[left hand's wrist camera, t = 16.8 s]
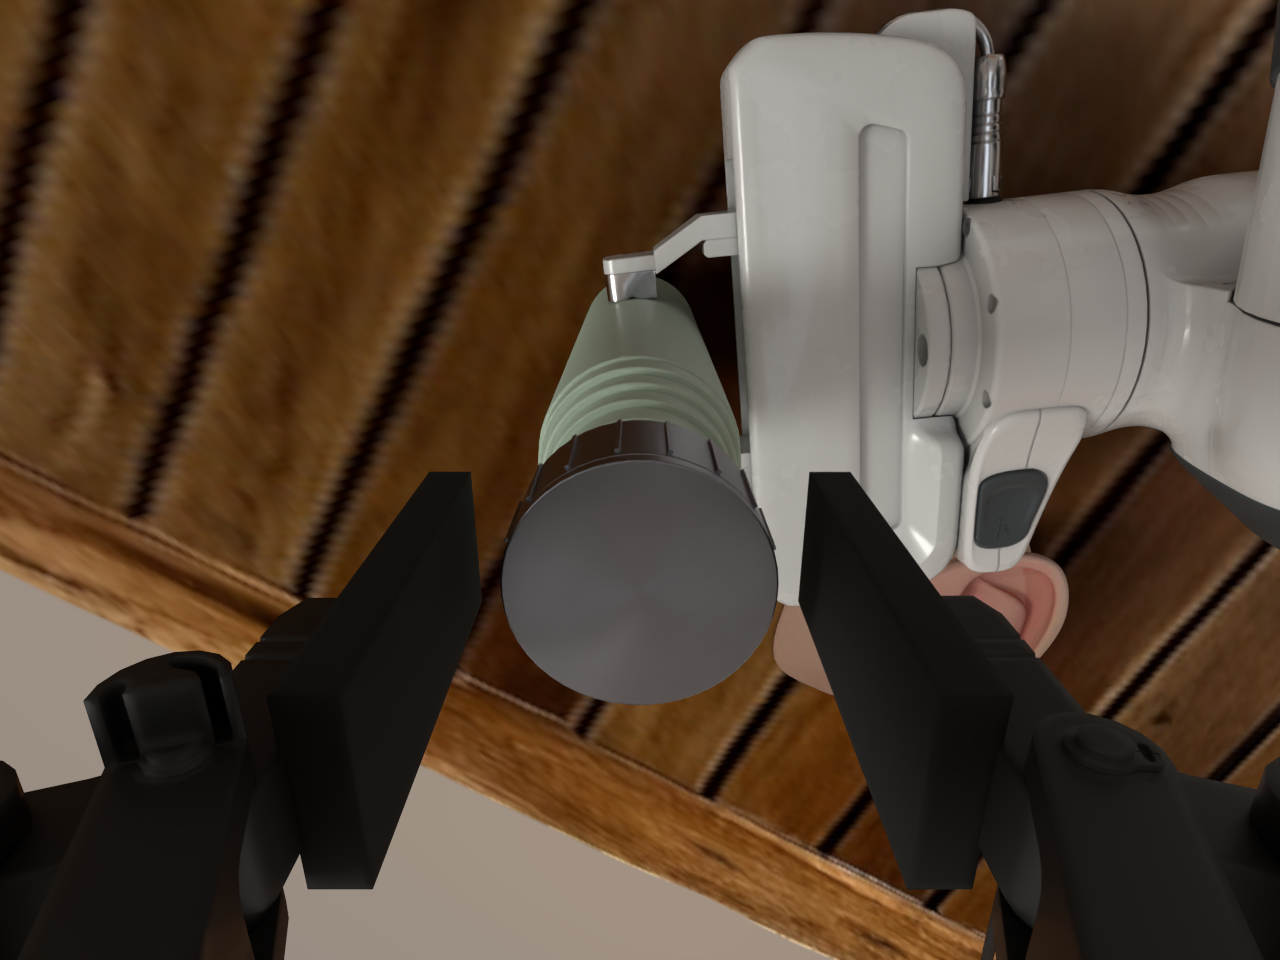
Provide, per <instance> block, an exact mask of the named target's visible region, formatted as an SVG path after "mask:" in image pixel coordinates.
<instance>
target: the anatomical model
mask: <svg viewBox="0 0 1280 960" xmlns="http://www.w3.org/2000/svg"><path fill="white" fill-rule="evenodd" d="M930 581H931V583H932V584H933V585H934V587H935V588H936V590H937V591H938V592H939V594H940V595H941V596H975V597H976V598H978V599H979V600H981V601H983V602H984V603H986V604H987V605H989V606H991V607H992V608H994V609H995V610H997V611H999V612H1000V613H1002V614H1003V615H1004V616H1005V618H1006V619H1007V620H1008V621H1009V622H1010V624H1011V625H1012V626H1013V627H1014V628H1015V629H1016V631H1017V632H1018V633H1019V634H1020V638H1021V639H1024V640H1025V641H1026V643H1027V644H1028V645H1029V646H1030V647H1031V648H1032V650H1033V651H1034V652H1035V656H1036V658H1040V657H1041V656H1042V655H1043V653H1044V652H1045V651H1046V650H1047V649H1048V648H1049V646H1050V645H1051V643H1052V642H1053V641H1054V639H1055V638H1056V636H1057V635H1058V633H1059V631H1060V629H1061V627H1062V625H1063V623H1064V620H1065V617H1066V614H1067V609H1068V600H1069V590H1068V583H1067V579H1066V577H1065V574H1064V572H1063V571H1062V569H1061V568H1060V567H1059V565H1058V564H1057V563H1055V562H1054V561H1053V560H1051V559H1049V558H1047V557H1045V556H1043V555H1040V554H1036V553H1032V552H1031V550H1030V545H1028V547H1027V549H1026V551H1025V553H1024V555H1023V557H1022V558H1021V560H1020V561H1019V562H1018V563H1017V564H1016V565H1015V566H1014V567H1012V568H1010V569H1007V570H1004V571H999V572H988V573H986V572H975V571H972V570H970V569H969V568H968V567H966V566H965V565H964V564H963V563H962V562H960V561H959V560H958V559H957V558H956V557H955V556H954V555H953V556H952V558H951V560H950V562H949V563H948V565H947V566H946V567H945V568H944V569H943V570H942V571H941V572H940V573H939V574H938V575H937V576H936V577H934V578H933V579H931V580H930ZM773 651H774V658H775V660H776V663H777V664H778V666H779V667H780V668H781V669H782V670H783V671H784V672H785V673H787V674H788V675H789V676H791V677H793V678H795V679H796V680H798V681H800V682H802V683H805V684H807V685H809V686H811V687H814V688H816V689H818V690H821V691H823V692H826V693H828V694H830V695H833V692H832V689H831V687H830V684H829V681H828V679H827V676H826V673H825V671H824V668H823V666H822V663H821V660H820V658H819V655H818V652H817V650H816V647H815V644H814V642H813V639H812V637H811V634H810V631H809V629H808V626H807V623H806V621H805V618H804V615H803V613H802V610H801V607H800V606H789V605H784V608H783V610H782V613H781V616H780V619H779V622H778V625H777V629H776V633H775V637H774V645H773Z"/></svg>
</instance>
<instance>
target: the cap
mask: <svg viewBox="0 0 1280 960" xmlns="http://www.w3.org/2000/svg"><path fill="white" fill-rule="evenodd" d="M505 542H506V543H507V546H506V549H505V553H504V557H503V561H502V567H501V577H500V583H501V597H502V602H503V607H504V612H505V614H506V617H507V620H508V623H509V626H510V628H511V630H512V631H513V633H514V635H515V637H516V639H517V641H518V642H519V644H520V645H521V647H522V648H523V649H524V651H525V652H526V654H527V655H528V656H529V657H530V658H531V659H532V660H533V661H534V662H535V663H536V664H537V666H539V667H540V668H541V669H542V670H543V671H545V672H546V673H547V674H548V675H549V676H551V677H552V678H554V679H555V680H557V681H558V682H560V683H561V684H563V685H564V686H566V687H569V688H571V689H573V690H575V691H577V692H579V693H581V694H584V695H587V696H590V697H592V698H595V699H599V700H603V701H608V702H612V703H620V704H628V705H649V704H660V703H666V702H671V701H676V700H680V699H683V698H686V697H690V696H693V695H696V694H698V693H700V692H702V691H704V690H707V689H709V688H711V687H713V686H714V685H716V684H718V683H719V682H721V681H723V680H724V679H726V678H727V677H728V676H730V675H731V674H732V673H733V672H735V671H736V670H737V669H738V668H739V667H740V666H741V665H742V664H743V663H744V662H745V661H746V660H747V659H748V658H749V657H750V656H751V655H752V653H753V652H754V651H755V650H756V648H757V647H758V646H759V644H760V642H761V641H762V639H763V637H764V635H765V634H766V632H767V630H768V628H769V625H770V623H771V620H772V618H773V615H774V611H775V607H776V603H777V597H778V587H779V580H778V566H777V561H776V556H775V552H774V550H776V546H775V543H774V540H773V538H772V535H771V532H770V530H769V527H768V524H767V522H766V519H765V516H764V514H763V511H762V508H758V505H757V502H756V499H755V496H754V494H753V491H752V488H751V485H750V483H749V480H748V477H747V475H746V472H745V470H744V469H742V470H740V469H739V467H738V466H737V465H736V463H735V462H734V461H733V460H732V459H731V458H730V457H729V456H728V455H727V454H726V453H725V452H724V451H723V450H722V449H720V448H719V447H718V446H717V445H715V444H714V441H713V440H712V439H711V438H709V440H708V439H706V438H705V437H703V436H701V435H699V434H698V433H695V432H693V431H691V430H688V429H686V428H683V427H680V426H677V425H673V424H670V421H665V422H658V421H651V420H630V421H622V419H620V420H617V422H614V423H610V424H606V425H602V426H599V427H596V428H594V429H591V430H588V431H586V432H584V433H582V434H580V435H578V436H577V434H575V435H573V436H572V439H571V440H569V441H568V442H567V443H565V444H564V445H563V446H561V447H560V448H558V449H557V450H556V451H555V452H554V453H553V454H552V455H551V456H550V457H549V458H548V459H547V460H546V461H545V462H544V464H542V463H540V464H539V465H538V467H537V470H536V473H535V476H534V478H533V480H532V481H531V483H530V485H529V487H528V490H527V492H526V495H525V497H524V500H523V502H522V501H519V504H518V507H517V509H516V512H515V515H514V517H513V520H512V522H511V525H510V528H509V530H508V533H507V536H506V538H505Z"/></svg>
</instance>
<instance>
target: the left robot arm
mask: <svg viewBox="0 0 1280 960" xmlns="http://www.w3.org/2000/svg"><path fill="white" fill-rule="evenodd" d="M481 602H482V597H481V585H480V574H479V562H478V551H477V539H476V528H475V516H474V504H473V493H472V481H471V472H429V473H428V475H427V476H426V477H425V479H424V480H423V482H422V483H421V484H420V486H419V487H418V488H417V490H416V491H415V492H414V494H413V495H412V497H411V498H410V499H409V501H408V502H407V503H406V505H405V506H404V507H403V509H402V510H401V512H400V513H399V514H398V516H397V517H396V518H395V520H394V521H393V523H392V524H391V525H390V527H389V528H388V529H387V531H386V532H385V533H384V535H383V536H382V538H381V539H380V540H379V542H378V543H377V544H376V546H375V547H374V549H373V550H372V551H371V553H370V554H369V555H368V557H367V558H366V559H365V561H364V562H363V564H362V565H361V566H360V568H359V569H358V570H357V572H356V573H355V574H354V576H353V577H352V579H351V580H350V581H349V583H348V584H347V585H346V587H345V588H344V590H343V591H342V592H341V594H340V595H339V596H338V598H307V599H305V600H303V601H302V602H300V603H299V604H297V605H295V606H294V607H292V608H291V609H289V610H288V611H286V612H284V613H283V614H281V615H280V616H278V617H277V618H276V620H275V621H274V622H273V623H272V624H271V626H270V627H269V628H268V629H267V630H266V631H265V633H264V634H263V635H262V636H261V637H260V642H256V643H255V645H254V646H253V647H252V648H251V649H250V651H249V652H248V653H247V654H246V655H245V660H241V661H240V663H239V664H238V665H237V666H236V667H235V669H234V670H232V666H231V663H230V662H229V661H228V660H226V659H225V658H224V657H223V656H221V655H220V654H216V653H211V652H205V651H185V652H173V653H169V654H165V655H161V656H157V657H153V658H149V659H146V660H143V661H141V662H139V663H136V664H134V665H131V666H129V667H127V668H124V669H122V670H120V671H118V672H117V673H115V674H114V675H112V676H110V677H109V678H107V679H106V680H104V681H103V682H101V683H100V684H98V685H97V686H96V687H95V688H94V690H93V691H92V692H91V693H90V694H89V695H88V696H87V698H85V700H84V704H85V708H86V711H87V714H88V717H89V720H90V723H91V726H92V729H93V732H94V736H95V738H96V741H97V745H98V748H99V751H100V754H101V757H102V760H103V763H104V767H105V769H104V771H103V773H102V775H101V776H98V777H94V778H91V779H86V780H82V781H77V782H73V783H68V784H63V785H58V786H54V787H49V788H44V789H39V790H35V791H30V792H25V793H24V792H23V789H22V786H21V784H20V781H19V778H18V776H17V773H16V770H15V769H14V768H12V767H11V766H9V765H8V764H7V763H5V762H4V761H0V960H284V954H285V946H286V937H287V928H288V919H289V917H288V910H287V904H286V899H285V894H284V890H283V886H284V884H285V882H286V880H287V878H288V876H289V874H290V872H291V870H292V868H293V866H294V864H295V862H296V860H297V858H298V856H299V854H300V855H301V860H302V864H303V869H304V874H305V879H306V883H307V888H308V889H373V887H374V884H375V882H376V879H377V877H378V874H379V871H380V869H381V866H382V863H383V861H384V858H385V855H386V853H387V850H388V847H389V845H390V842H391V840H392V837H393V834H394V832H395V829H396V826H397V824H398V821H399V818H400V816H401V813H402V811H403V808H404V805H405V803H406V800H407V797H408V795H409V792H410V789H411V787H412V784H413V782H414V779H415V776H416V774H417V771H418V768H419V766H420V763H421V760H422V758H423V755H424V753H425V750H426V747H427V745H428V742H429V739H430V737H431V734H432V731H433V729H434V726H435V724H436V721H437V718H438V716H439V713H440V710H441V708H442V705H443V702H444V700H445V697H446V695H447V692H448V689H449V687H450V684H451V681H452V679H453V676H454V673H455V671H456V668H457V666H458V663H459V660H460V658H461V655H462V652H463V650H464V647H465V644H466V642H467V639H468V636H469V634H470V631H471V629H472V626H473V623H474V621H475V618H476V615H477V613H478V610H479V607H480V605H481ZM798 602H799V605H800V607H801V610H802V613H803V615H804V618H805V621H806V623H807V626H808V629H809V631H810V634H811V637H812V639H813V642H814V644H815V647H816V650H817V652H818V655H819V658H820V660H821V663H822V666H823V668H824V671H825V673H826V676H827V679H828V681H829V684H830V687H831V689H832V692H833V695H834V697H835V700H836V702H837V705H838V708H839V710H840V713H841V716H842V718H843V721H844V724H845V726H846V729H847V731H848V734H849V737H850V739H851V742H852V745H853V747H854V750H855V753H856V755H857V758H858V760H859V763H860V766H861V768H862V771H863V774H864V776H865V779H866V782H867V784H868V787H869V790H870V792H871V795H872V797H873V800H874V803H875V805H876V808H877V811H878V813H879V816H880V819H881V821H882V824H883V826H884V829H885V832H886V834H887V837H888V840H889V842H890V845H891V848H892V850H893V853H894V855H895V858H896V861H897V863H898V866H899V869H900V871H901V874H902V877H903V879H904V882H905V884H906V887H907V889H972V888H973V883H974V879H975V874H976V869H977V865H978V860H979V856H980V851H981V852H982V854H983V856H984V858H985V860H986V862H987V864H988V866H989V868H990V870H991V872H992V874H993V876H994V878H995V880H996V882H997V884H998V886H997V890H996V894H995V899H994V903H993V907H992V912H991V916H990V920H989V925H988V929H987V933H986V937H985V942H984V946H983V951H982V958H981V960H993V958H994V954H995V952H996V960H1280V757H1278V758H1277V759H1276V760H1274V761H1273V762H1271V763H1270V764H1268V765H1267V766H1266V768H1265V770H1264V773H1263V776H1262V778H1261V781H1260V784H1259V786H1258V789H1252V788H1247V787H1243V786H1238V785H1233V784H1228V783H1224V782H1219V781H1214V780H1210V779H1205V778H1200V777H1195V776H1191V775H1187V774H1184V773H1180V772H1178V771H1177V769H1176V767H1175V766H1174V764H1173V763H1172V762H1171V760H1170V759H1169V758H1168V756H1167V755H1166V754H1165V752H1164V751H1163V750H1162V749H1161V748H1160V747H1158V746H1157V745H1156V744H1155V743H1153V742H1152V741H1151V740H1149V739H1148V738H1147V737H1145V736H1144V735H1143V734H1141V733H1139V732H1137V731H1135V730H1133V729H1131V728H1129V727H1127V726H1125V725H1123V724H1120V723H1118V722H1116V721H1113V720H1110V719H1106V718H1103V717H1099V716H1095V715H1092V714H1086V712H1085V711H1084V710H1083V709H1082V708H1081V707H1080V705H1079V704H1078V703H1077V702H1076V701H1075V699H1074V698H1073V697H1072V696H1071V695H1070V694H1069V692H1068V691H1067V690H1066V689H1065V688H1064V686H1063V685H1062V684H1061V683H1060V682H1059V680H1058V679H1057V678H1056V677H1055V676H1054V675H1053V673H1052V672H1051V671H1050V670H1049V669H1048V667H1047V666H1046V665H1045V664H1044V663H1043V661H1042V660H1041V659H1040V658H1036V656H1035V652H1034V651H1033V650H1032V648H1031V647H1030V646H1029V645H1028V644H1027V643H1026V641H1025V640H1024V639H1021V638H1020V634H1019V633H1018V632H1017V631H1016V629H1015V628H1014V627H1013V626H1012V625H1011V624H1010V622H1009V621H1008V620H1007V619H1006V618H1005V616H1004V615H1003V614H1002V613H1000V612H999V611H997V610H995V609H994V608H992V607H991V606H989V605H987V604H986V603H984V602H983V601H981V600H979V599H978V598H976V597H975V596H941V595H940V594H939V592H938V591H937V590H936V588H935V587H934V585H933V584H932V583H931V581H930V580H929V579H928V577H927V576H926V575H925V573H924V572H923V570H922V569H921V568H920V566H919V565H918V564H917V562H916V561H915V559H914V558H913V557H912V555H911V554H910V553H909V551H908V550H907V549H906V547H905V546H904V544H903V543H902V542H901V540H900V539H899V538H898V536H897V535H896V533H895V532H894V531H893V529H892V528H891V527H890V525H889V524H888V523H887V521H886V520H885V518H884V517H883V516H882V514H881V513H880V512H879V510H878V509H877V507H876V506H875V505H874V503H873V502H872V501H871V499H870V498H869V497H868V495H867V494H866V492H865V491H864V490H863V488H862V487H861V486H860V484H859V483H858V482H857V480H856V479H855V477H854V476H853V475H852V473H851V472H809V481H808V493H807V504H806V516H805V527H804V539H803V551H802V562H801V574H800V585H799V597H798Z"/></svg>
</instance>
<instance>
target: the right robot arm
mask: <svg viewBox="0 0 1280 960" xmlns="http://www.w3.org/2000/svg"><path fill="white" fill-rule="evenodd" d="M976 40H977V42H978V44H979V47H980V51H981V56H979V57H976V58H975V45H976ZM1006 81H1007V71H1006V61H1005V56H1004V54H1002V53H997V54H995V49H994V44H993V40H992V37H991V34H990V32H989V30H988V28H987V27H986V26H985V24H984V23H983V22H982V21H981V20H980V19H979V18H978V17H977V16H976V15H974V14H973V13H971V12H969V11H967V10H964V9H961V8H954V7H946V8H938V9H929V10H921V11H913V12H907V13H903V14H900V15H898V16H896V17H894V18H892V19H890V20H889V21H887V22H886V23H885V24H883V25H882V26H881V27H880V28H879V29H878V30H877V31H876V32H875V34H865V33H830V32H822V33H795V34H779V35H770V36H762V37H758V38H756V39H753V40H751V41H750V42H748V43H747V44H745V45H744V46H743V47H742V48H741V49H740V50H739V51H738V52H737V54H736V55H735V56H734V57H733V59H732V60H731V61H730V63H729V64H728V66H727V67H726V69H725V71H724V72H723V74H722V77H721V81H720V93H721V110H722V126H723V142H724V158H725V173H726V189H727V205H728V210H726V211H718V212H709V213H701V214H696V215H694V216H693V217H692V218H690V219H689V220H688V221H686V222H685V223H684V224H683V225H681V226H680V227H679V228H677V229H676V230H675V231H673V232H672V233H671V234H669V235H668V236H667V237H665V238H664V239H663V240H662V241H660V242H659V243H658V244H656V245H655V246H654V247H653V251H646V252H637V253H629V254H620V255H613V256H608V257H604V259H603V266H604V275H605V282H606V289H607V296H608V301H609V302H621V301H625V300H628V299H629V298H630V297H631V296H633V297H635V298H637V299H648V298H657V288H656V275H655V271H656V274H657V273H659V272H660V271H661V270H663V269H664V268H666V267H667V266H668V265H670V264H671V263H672V262H674V261H675V260H676V259H678V258H679V257H681V256H682V255H683V254H685V253H686V252H687V251H689V250H690V249H691V248H693V247H694V246H695V245H697V244H698V243H699V245H700V250H701V252H702V253H703V254H704V255H705V256H706V257H708V258H710V257H721V256H731V268H732V284H733V300H734V316H735V332H736V348H737V363H738V379H739V395H740V411H741V427H742V436H739V437H740V451H741V470H742V469H744V470H745V472H746V475H747V477H748V480H749V483H750V485H751V488H752V491H753V494H754V496H755V499H756V502H757V505H758V508H762V511H763V514H764V516H765V519H766V522H767V524H768V527H769V530H770V532H771V535H772V538H773V540H774V543H775V546H776V550H774V552H775V556H776V561H777V566H778V580H779V587H778V597H777V601H779V602H780V603H782V604H785V605H789V606H800V605H799V602H798V597H799V585H800V574H801V562H802V551H803V539H804V527H805V516H806V504H807V493H808V481H809V472H851V473H852V475H853V476H854V477H855V479H856V480H857V482H858V483H859V484H860V486H861V487H862V488H863V490H864V491H865V492H866V494H867V495H868V497H869V498H870V499H871V501H872V502H873V503H874V505H875V506H876V507H877V509H878V510H879V512H880V513H881V514H882V516H883V517H884V518H885V520H886V521H887V523H888V524H889V525H890V527H891V528H892V529H893V531H894V532H895V533H896V535H897V536H898V538H899V539H900V540H901V542H902V543H903V544H904V546H905V547H906V549H907V550H908V551H909V553H910V554H911V555H912V557H913V558H914V559H915V561H916V562H917V564H918V565H919V566H920V568H921V569H922V570H923V572H924V573H925V575H926V576H927V577H928V579H929V580H931V579H933V578H934V577H936V576H937V575H938V574H939V573H940V572H941V571H942V570H943V569H944V568H945V567H946V566H947V565H948V563H949V562H950V560H951V558H952V556H953V555H954V556H955V557H956V558H957V559H958V560H959V561H960V562H962V563H963V564H964V565H965V566H966V567H968V568H969V569H970V570H972V571H975V572H986V573H988V572H999V571H1004V570H1007V569H1010V568H1012V567H1014V566H1015V565H1016V564H1017V563H1018V562H1019V561H1020V560H1021V558H1022V557H1023V555H1024V553H1025V551H1026V549H1027V547H1028V545H1029V543H1030V540H1031V538H1032V535H1033V533H1034V531H1035V528H1036V526H1037V524H1038V522H1039V519H1040V517H1041V515H1042V512H1043V510H1044V508H1045V506H1046V504H1047V502H1048V499H1049V497H1050V495H1051V493H1052V491H1053V489H1054V487H1055V485H1056V483H1057V481H1058V479H1059V477H1060V475H1061V473H1062V471H1063V470H1064V468H1065V466H1066V464H1067V462H1068V461H1069V459H1070V457H1071V455H1072V454H1073V452H1074V450H1075V449H1076V447H1077V445H1078V444H1079V442H1080V440H1081V438H1087V437H1092V436H1095V435H1098V434H1101V433H1104V432H1107V431H1110V430H1113V429H1117V428H1122V427H1129V426H1146V427H1150V428H1154V429H1158V430H1161V431H1163V432H1164V433H1165V434H1166V435H1167V436H1168V437H1169V438H1170V440H1171V442H1172V443H1171V444H1170V446H1169V448H1170V450H1171V452H1172V453H1173V455H1174V456H1175V457H1176V458H1177V460H1178V461H1179V462H1180V463H1181V464H1182V465H1183V467H1184V468H1185V469H1186V470H1187V471H1188V472H1189V473H1190V474H1191V475H1192V476H1193V477H1195V478H1196V479H1197V480H1198V481H1199V482H1200V483H1201V484H1202V485H1203V486H1204V487H1205V488H1206V489H1207V490H1208V491H1209V492H1210V493H1211V494H1213V495H1214V496H1215V497H1216V498H1217V499H1218V500H1219V501H1220V502H1221V503H1222V504H1223V505H1225V506H1226V507H1227V508H1228V509H1229V510H1230V511H1231V512H1232V513H1233V514H1234V515H1235V516H1236V517H1237V518H1238V519H1239V520H1240V521H1241V522H1242V523H1243V524H1244V525H1245V526H1247V527H1248V528H1249V529H1250V530H1251V531H1252V532H1254V533H1255V534H1256V535H1258V536H1259V537H1260V538H1262V539H1263V540H1265V541H1266V542H1268V543H1269V544H1271V545H1272V546H1274V547H1276V548H1278V549H1280V0H1278V7H1277V16H1276V26H1275V36H1274V46H1273V55H1272V65H1271V75H1270V82H1271V86H1272V87H1273V88H1275V91H1274V96H1273V101H1272V106H1271V111H1270V116H1269V122H1268V127H1267V132H1266V137H1265V142H1264V147H1263V152H1262V157H1261V162H1260V167H1259V171H1246V172H1236V173H1227V174H1218V175H1210V176H1204V177H1199V178H1196V179H1192V180H1189V181H1186V182H1183V183H1181V184H1178V185H1176V186H1173V187H1171V188H1169V189H1166V190H1164V191H1161V192H1157V193H1153V194H1146V195H1132V194H1125V193H1121V192H1116V191H1111V190H1103V189H1086V190H1079V191H1070V192H1061V193H1053V194H1044V195H1035V196H1026V197H1018V198H1006V199H1003V198H1000V188H1001V165H1002V141H1001V139H1002V133H1001V132H1000V131H1001V124H1000V121H1001V115H1000V113H1001V110H1002V98H1004V97H1005V91H1006ZM963 201H966V204H963Z"/></svg>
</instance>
